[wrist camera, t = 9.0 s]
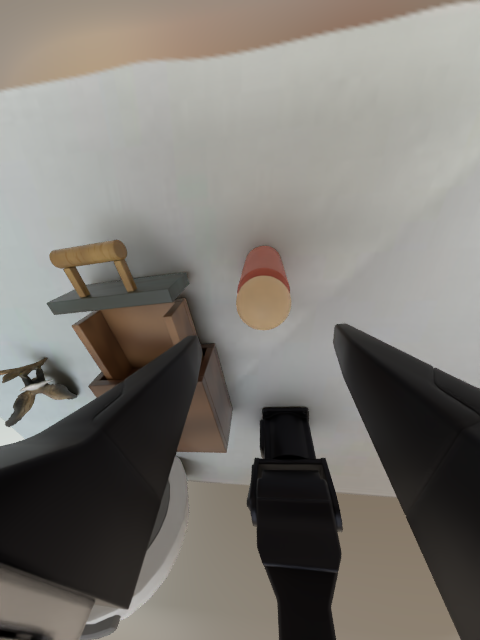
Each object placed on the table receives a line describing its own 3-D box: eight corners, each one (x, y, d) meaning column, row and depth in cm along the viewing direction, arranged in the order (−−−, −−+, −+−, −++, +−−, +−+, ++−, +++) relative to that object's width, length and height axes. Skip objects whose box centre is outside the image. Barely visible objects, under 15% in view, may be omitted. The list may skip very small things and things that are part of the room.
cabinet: (122, 349, 27) (87, 386, 21) (214, 343, 25) (201, 381, 19) (156, 411, 33) (136, 451, 28) (232, 409, 31) (226, 453, 26)
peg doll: (280, 243, 18) (296, 281, 10) (282, 279, 20) (297, 340, 11) (242, 248, 19) (225, 289, 10) (247, 283, 20) (236, 344, 12)
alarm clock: (198, 459, 40) (150, 655, 23) (198, 477, 43) (157, 655, 26) (92, 443, 40) (-32, 620, 23) (102, 461, 44) (1, 626, 27)
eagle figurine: (-1, 358, 28) (21, 410, 31) (-34, 389, 22) (-3, 449, 25) (69, 348, 32) (82, 395, 35) (56, 372, 26) (74, 426, 29)
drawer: (61, 246, 19) (13, 257, 16) (173, 227, 17) (148, 235, 14) (129, 367, 27) (108, 394, 23) (212, 362, 25) (203, 391, 21)
